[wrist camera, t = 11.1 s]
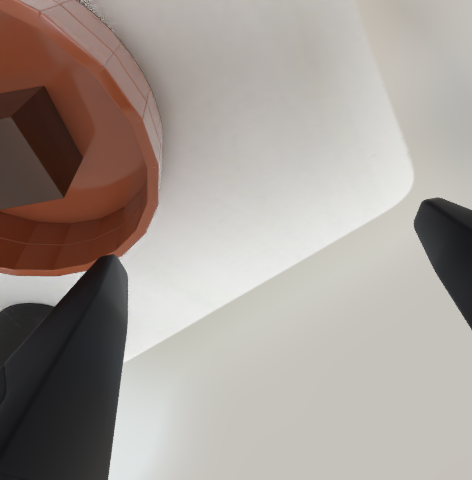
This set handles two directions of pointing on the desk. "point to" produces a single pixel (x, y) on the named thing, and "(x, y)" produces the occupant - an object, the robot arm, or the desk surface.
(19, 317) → the travel mug
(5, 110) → the block
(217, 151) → the desk surface
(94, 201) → the bowl
